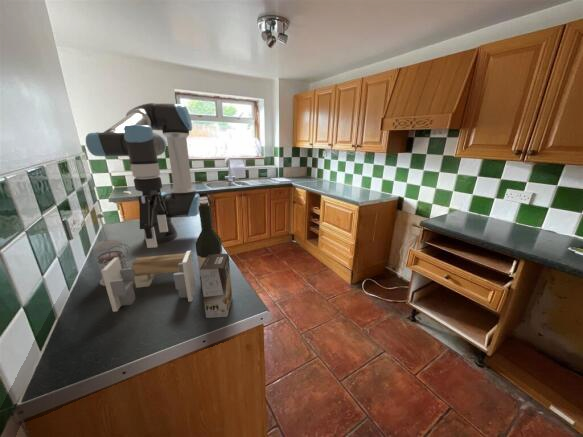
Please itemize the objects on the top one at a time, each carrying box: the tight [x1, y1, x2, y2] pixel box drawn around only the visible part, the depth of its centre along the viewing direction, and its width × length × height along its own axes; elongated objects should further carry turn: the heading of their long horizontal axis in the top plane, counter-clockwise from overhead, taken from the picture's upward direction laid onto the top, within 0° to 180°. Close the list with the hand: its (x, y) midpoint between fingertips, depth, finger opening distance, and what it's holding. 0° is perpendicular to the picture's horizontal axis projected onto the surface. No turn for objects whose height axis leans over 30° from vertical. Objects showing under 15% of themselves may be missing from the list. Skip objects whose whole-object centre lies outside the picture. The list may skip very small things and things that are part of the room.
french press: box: [92, 213, 131, 287], centre depth 86 cm, size 10×12×25 cm
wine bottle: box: [194, 201, 224, 288], centre depth 81 cm, size 8×8×30 cm
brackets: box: [101, 250, 197, 313], centre depth 76 cm, size 8×22×14 cm, turn 103°
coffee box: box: [200, 253, 233, 319], centre depth 71 cm, size 9×6×16 cm
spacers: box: [134, 271, 180, 289], centre depth 87 cm, size 6×18×4 cm, turn 103°
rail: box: [131, 252, 186, 277], centre depth 86 cm, size 4×18×5 cm, turn 103°
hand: (158, 238), depth 83 cm, fingers open, 13 cm apart
